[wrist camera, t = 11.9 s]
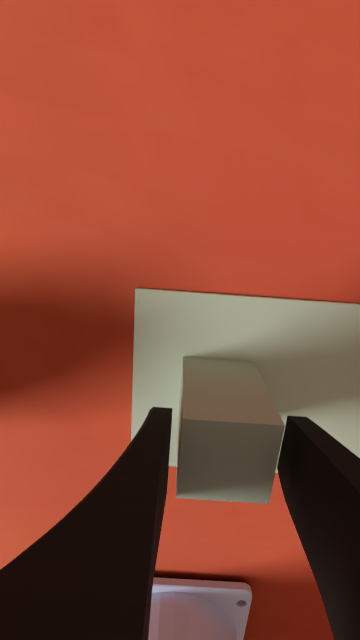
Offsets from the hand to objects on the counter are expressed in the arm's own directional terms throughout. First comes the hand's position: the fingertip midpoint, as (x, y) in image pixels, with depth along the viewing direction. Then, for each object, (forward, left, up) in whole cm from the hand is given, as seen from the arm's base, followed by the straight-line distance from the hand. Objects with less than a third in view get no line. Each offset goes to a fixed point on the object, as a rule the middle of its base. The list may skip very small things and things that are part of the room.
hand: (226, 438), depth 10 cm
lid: (0, -2, -4) cm, 4 cm away
